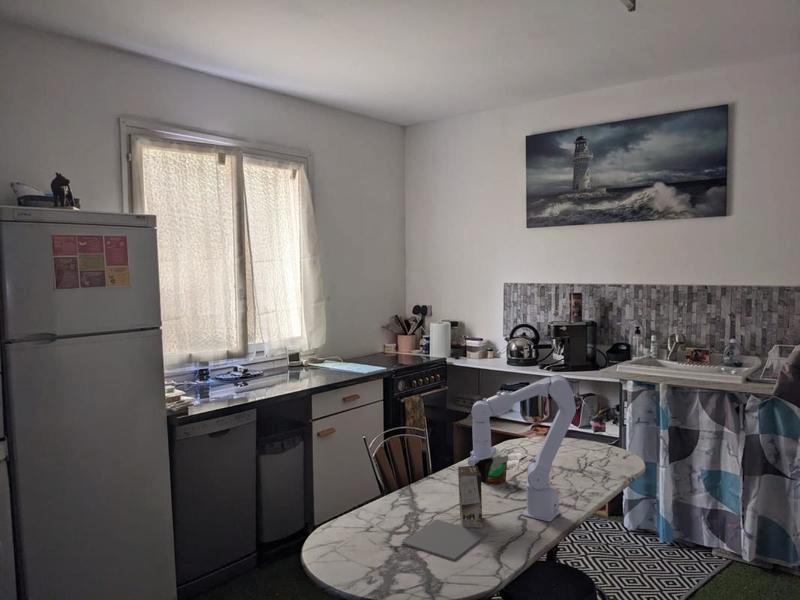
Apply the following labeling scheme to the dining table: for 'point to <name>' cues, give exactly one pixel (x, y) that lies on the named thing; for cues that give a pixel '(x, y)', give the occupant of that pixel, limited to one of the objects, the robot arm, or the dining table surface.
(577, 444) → the dining table surface
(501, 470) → the food container
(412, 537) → the mat
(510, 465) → the cloth
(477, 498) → the coffee box
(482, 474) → the robot arm
